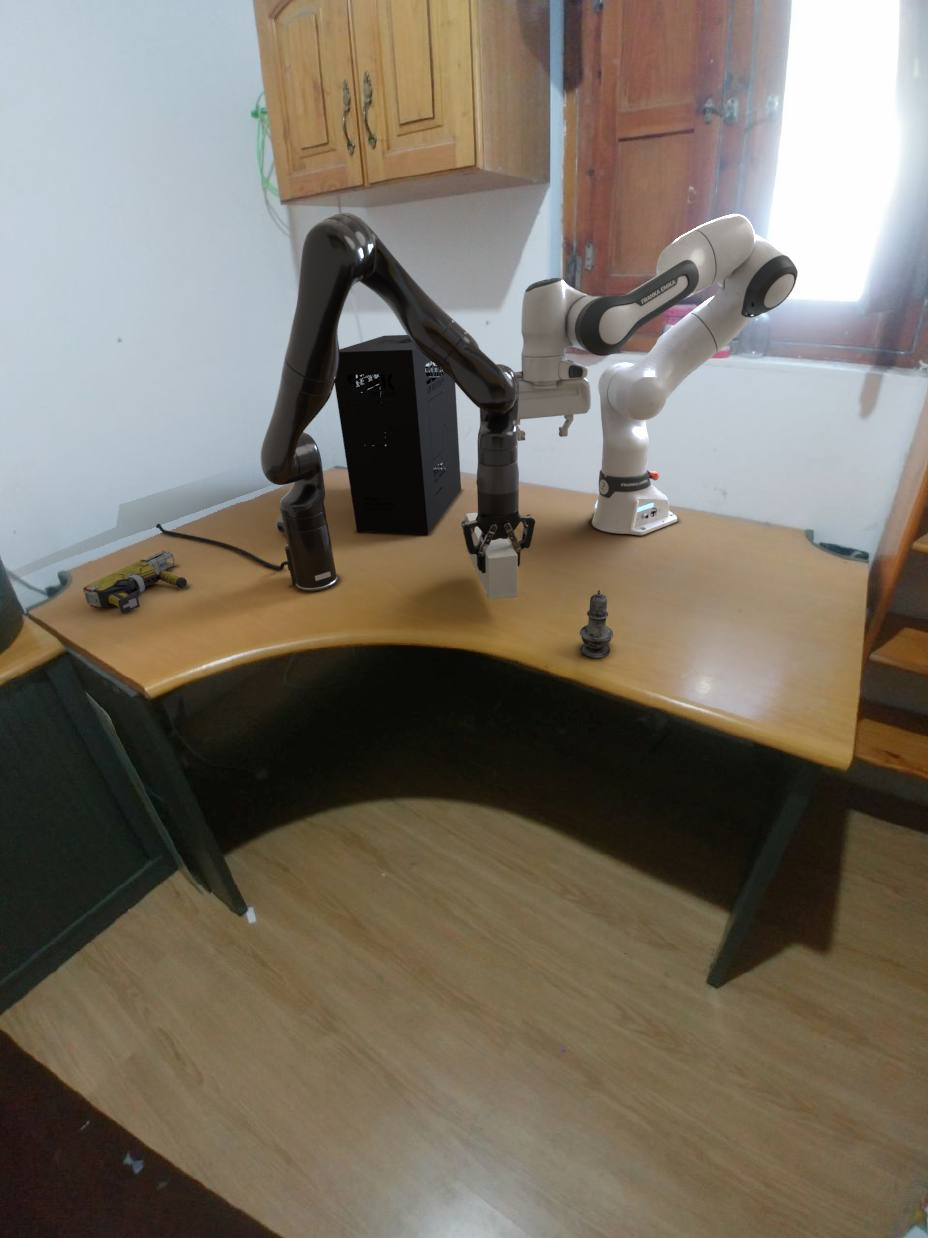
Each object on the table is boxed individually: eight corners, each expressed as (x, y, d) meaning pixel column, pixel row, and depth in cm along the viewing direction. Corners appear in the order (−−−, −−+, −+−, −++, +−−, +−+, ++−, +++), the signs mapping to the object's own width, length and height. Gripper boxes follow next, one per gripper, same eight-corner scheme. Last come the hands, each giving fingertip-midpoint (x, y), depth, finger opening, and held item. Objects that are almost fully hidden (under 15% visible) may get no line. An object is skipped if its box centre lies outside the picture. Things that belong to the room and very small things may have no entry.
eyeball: (273, 537, 164) (268, 516, 161) (287, 528, 169) (282, 508, 166) (291, 539, 161) (286, 518, 158) (305, 530, 166) (301, 510, 163)
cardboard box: (428, 534, 159) (412, 349, 137) (356, 531, 164) (329, 352, 141) (461, 489, 191) (452, 333, 168) (400, 488, 195) (384, 335, 173)
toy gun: (211, 559, 145) (160, 548, 149) (132, 601, 125) (76, 587, 129) (214, 576, 147) (164, 565, 151) (137, 620, 127) (82, 606, 131)
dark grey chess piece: (612, 659, 105) (617, 599, 99) (577, 657, 106) (581, 597, 100) (611, 641, 110) (616, 582, 104) (579, 639, 111) (582, 581, 105)
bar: (466, 551, 136) (465, 513, 132) (490, 548, 137) (490, 510, 132) (489, 600, 116) (488, 558, 111) (517, 597, 117) (517, 554, 112)
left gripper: (462, 495, 104) (465, 582, 113) (542, 488, 106) (539, 574, 115) (455, 482, 111) (459, 565, 119) (530, 475, 113) (529, 557, 121)
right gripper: (496, 375, 120) (498, 446, 127) (595, 367, 122) (591, 436, 129) (490, 371, 125) (492, 439, 132) (584, 363, 128) (581, 430, 134)
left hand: (498, 569), depth 117 cm, fingers closed on bar, 5 cm apart
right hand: (542, 438), depth 131 cm, fingers open, 8 cm apart
